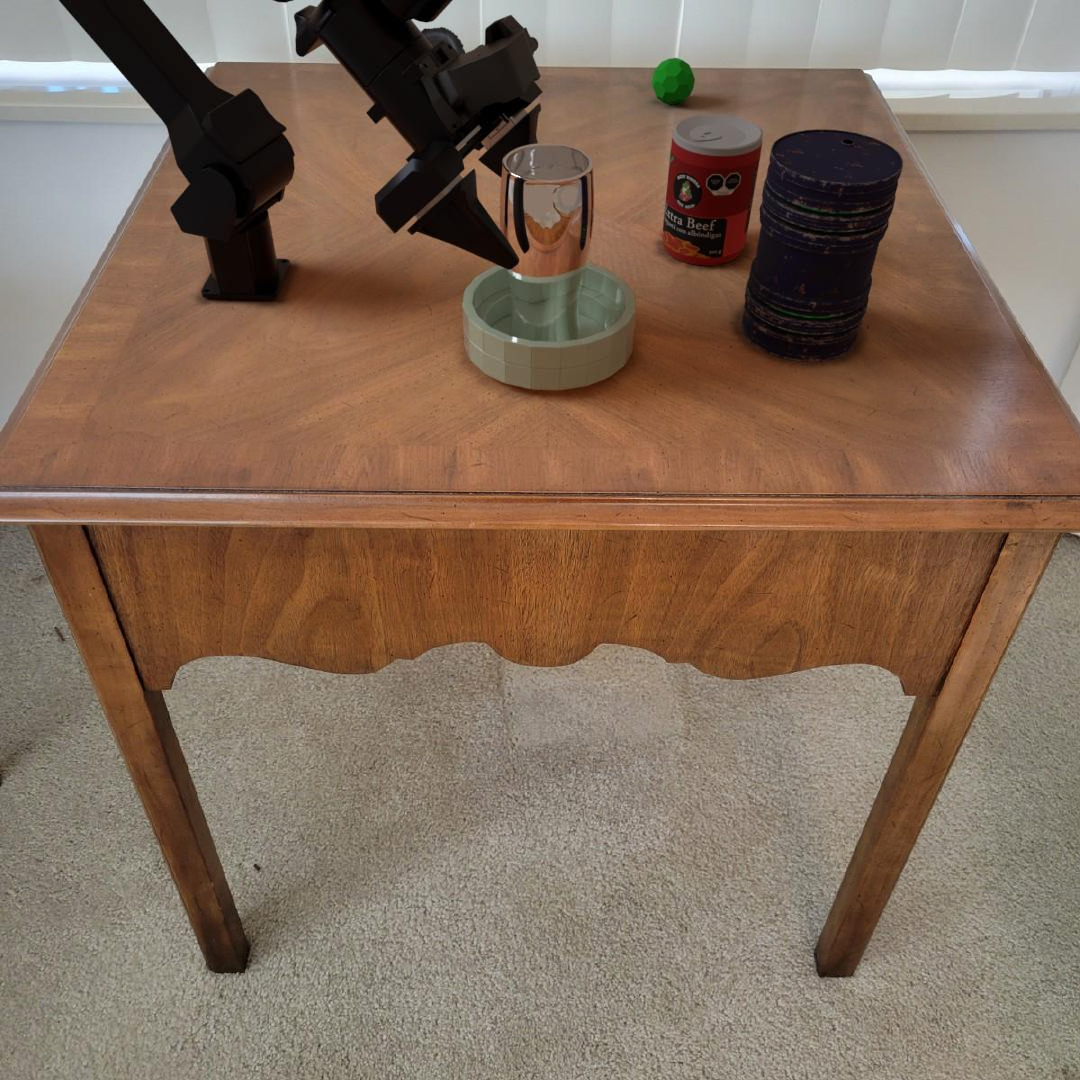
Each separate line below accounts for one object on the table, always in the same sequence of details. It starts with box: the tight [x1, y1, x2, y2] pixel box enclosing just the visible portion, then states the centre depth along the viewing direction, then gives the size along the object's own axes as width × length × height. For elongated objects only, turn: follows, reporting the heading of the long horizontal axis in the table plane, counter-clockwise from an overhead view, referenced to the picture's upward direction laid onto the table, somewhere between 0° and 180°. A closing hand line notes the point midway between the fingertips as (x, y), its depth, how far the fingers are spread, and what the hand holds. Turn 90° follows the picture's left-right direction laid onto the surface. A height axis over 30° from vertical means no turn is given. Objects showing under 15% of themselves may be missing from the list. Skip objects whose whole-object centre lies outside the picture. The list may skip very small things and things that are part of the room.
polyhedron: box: [651, 57, 696, 106], centre depth 120 cm, size 5×5×5 cm
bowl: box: [461, 261, 637, 391], centre depth 82 cm, size 14×14×4 cm
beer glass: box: [499, 142, 595, 342], centre depth 78 cm, size 7×7×15 cm
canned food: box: [661, 113, 764, 266], centre depth 92 cm, size 8×8×11 cm
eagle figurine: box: [420, 26, 466, 55], centre depth 124 cm, size 8×7×9 cm
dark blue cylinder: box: [740, 128, 904, 363], centre depth 81 cm, size 10×10×15 cm
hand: (537, 237), depth 77 cm, fingers open, 9 cm apart
